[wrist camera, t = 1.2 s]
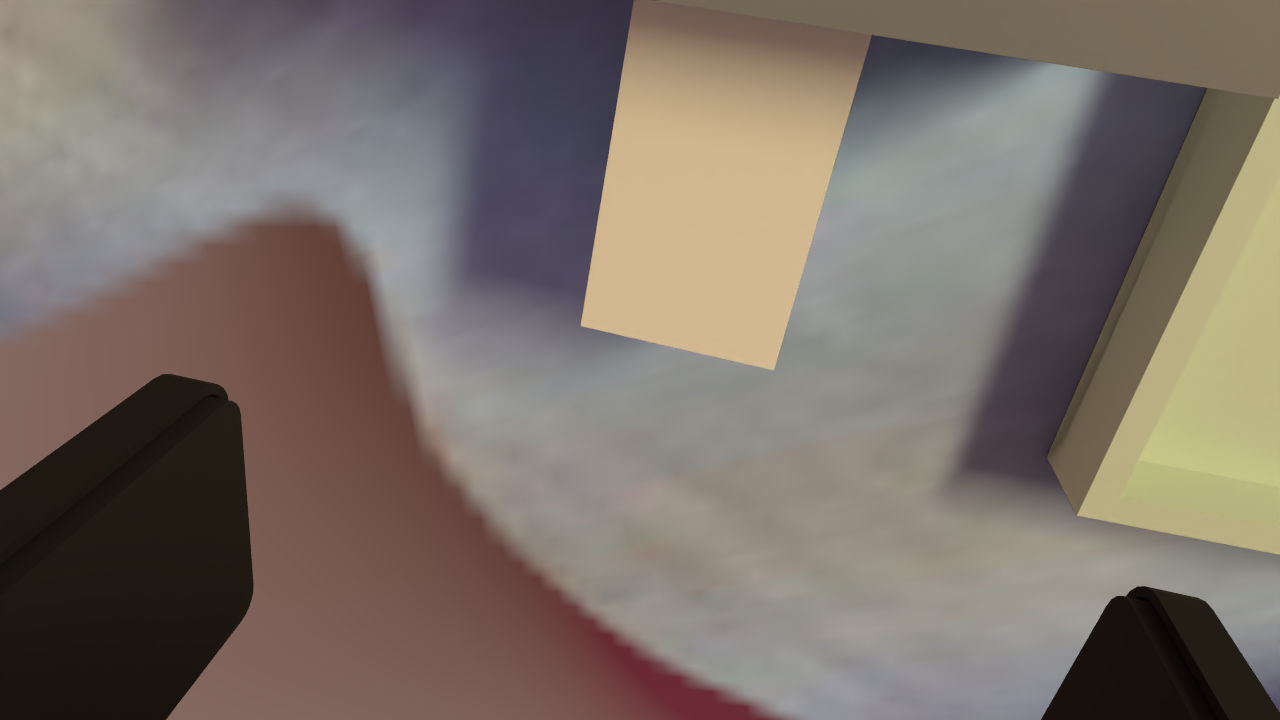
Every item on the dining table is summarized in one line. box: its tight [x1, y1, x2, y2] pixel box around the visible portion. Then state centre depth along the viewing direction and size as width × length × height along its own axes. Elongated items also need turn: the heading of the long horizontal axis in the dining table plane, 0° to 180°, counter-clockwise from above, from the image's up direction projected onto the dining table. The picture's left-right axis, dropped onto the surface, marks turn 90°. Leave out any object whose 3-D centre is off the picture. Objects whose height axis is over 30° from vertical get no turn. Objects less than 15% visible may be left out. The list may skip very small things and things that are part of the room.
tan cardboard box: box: [581, 0, 872, 370], centre depth 23 cm, size 15×6×7 cm, turn 170°
